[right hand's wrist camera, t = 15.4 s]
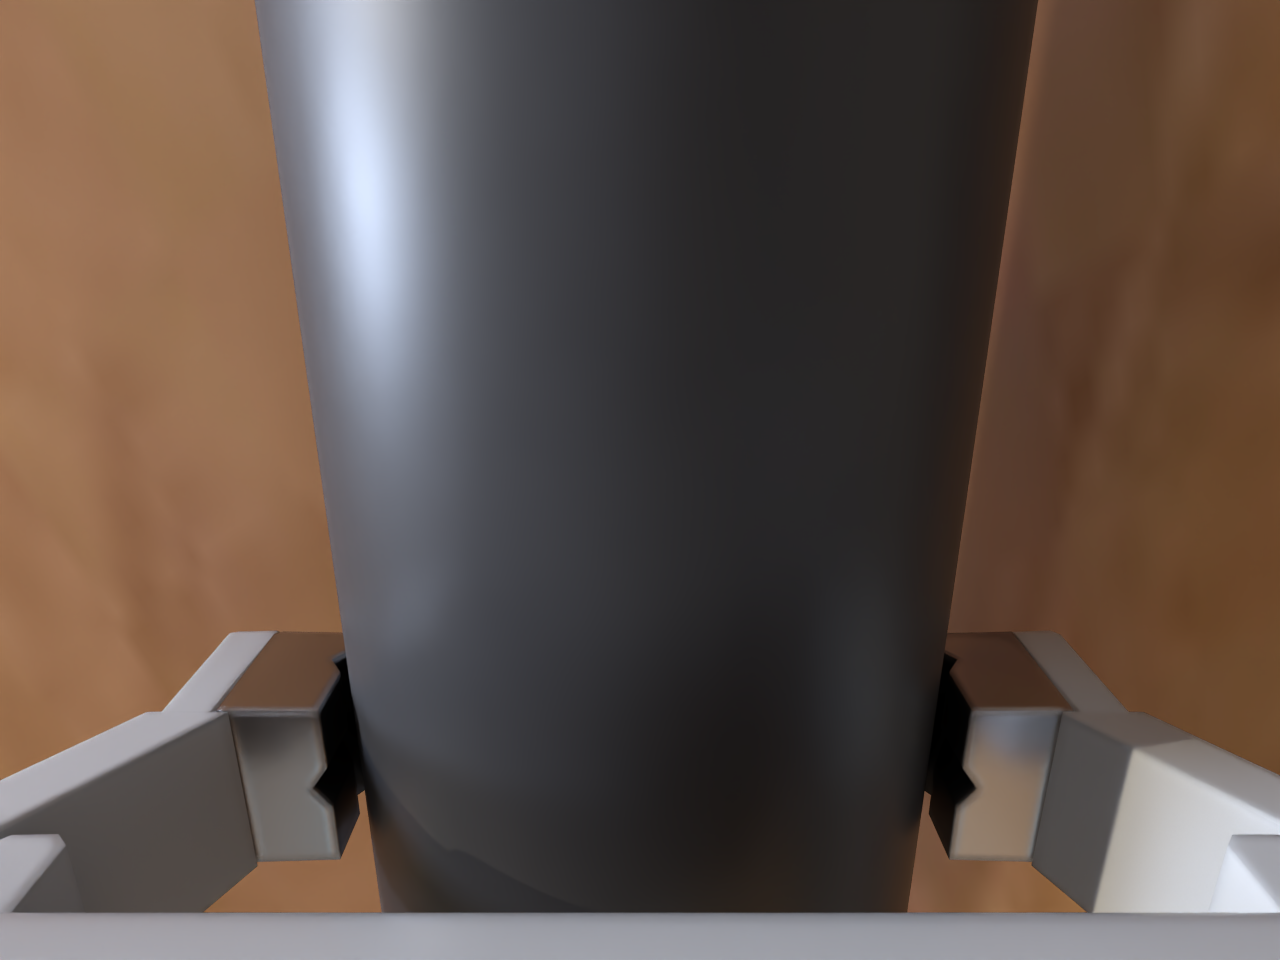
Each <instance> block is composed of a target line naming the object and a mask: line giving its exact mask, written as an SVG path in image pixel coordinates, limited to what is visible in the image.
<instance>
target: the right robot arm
mask: <svg viewBox="0 0 1280 960" xmlns="http://www.w3.org/2000/svg"><path fill="white" fill-rule="evenodd" d="M364 790H365V788H364V781H363V774H362V766H361V759H360V752H359V745H358V738H357V731H356V723H355V716H354V709H353V702H352V695H351V687H350V680H349V673H348V666H347V659H346V652H345V644H344V637H343V633H335V632H279V631H240V632H234V633H230V634H229V635H228V636H227V637H226V638H225V639H224V640H223V641H222V643H221V644H220V645H219V646H218V647H217V648H216V649H215V651H214V652H213V653H212V654H211V655H210V656H209V658H208V659H207V660H206V661H205V662H204V663H203V664H202V666H201V667H200V668H199V669H198V670H197V671H196V673H195V674H194V675H193V676H192V677H191V678H190V679H189V681H188V682H187V683H186V684H185V685H184V686H183V688H182V689H181V690H180V691H179V692H178V693H177V694H176V696H175V697H174V698H173V699H172V700H171V701H170V703H169V704H168V705H167V706H166V707H165V708H164V709H163V711H162V712H146V713H143V714H141V715H139V716H137V717H135V718H133V719H131V720H128V721H126V722H124V723H122V724H120V725H118V726H116V727H113V728H111V729H109V730H107V731H105V732H103V733H101V734H99V735H96V736H94V737H92V738H90V739H88V740H86V741H84V742H81V743H79V744H77V745H75V746H73V747H71V748H69V749H66V750H64V751H62V752H60V753H58V754H56V755H54V756H51V757H49V758H47V759H45V760H43V761H41V762H39V763H36V764H34V765H32V766H30V767H28V768H26V769H24V770H22V771H19V772H17V773H15V774H13V775H11V776H9V777H7V778H4V779H2V780H0V960H1280V775H1278V774H1276V773H1274V772H1272V771H1269V770H1267V769H1265V768H1263V767H1261V766H1259V765H1257V764H1254V763H1252V762H1250V761H1248V760H1246V759H1244V758H1241V757H1239V756H1237V755H1235V754H1233V753H1231V752H1229V751H1226V750H1224V749H1222V748H1220V747H1218V746H1216V745H1213V744H1211V743H1209V742H1207V741H1205V740H1203V739H1201V738H1198V737H1196V736H1194V735H1192V734H1190V733H1188V732H1185V731H1183V730H1181V729H1179V728H1177V727H1175V726H1173V725H1170V724H1168V723H1166V722H1164V721H1162V720H1160V719H1157V718H1155V717H1153V716H1151V715H1149V714H1147V713H1145V712H1128V711H1127V710H1126V708H1125V707H1124V706H1123V705H1122V704H1121V703H1120V702H1119V700H1118V699H1117V698H1116V697H1115V696H1114V695H1113V694H1112V693H1111V691H1110V690H1109V689H1108V688H1107V687H1106V686H1105V685H1104V684H1103V682H1102V681H1101V680H1100V679H1099V678H1098V677H1097V676H1096V674H1095V673H1094V672H1093V671H1092V670H1091V669H1090V668H1089V667H1088V665H1087V664H1086V663H1085V662H1084V661H1083V660H1082V659H1081V658H1080V656H1079V655H1078V654H1077V653H1076V652H1075V651H1074V650H1073V648H1072V647H1071V646H1070V645H1069V644H1068V643H1067V642H1066V641H1065V639H1064V638H1063V637H1062V636H1061V635H1060V634H1058V633H1055V632H1053V631H1050V630H1048V631H1024V632H979V633H947V637H946V644H945V651H944V658H943V665H942V672H941V679H940V686H939V693H938V700H937V707H936V714H935V721H934V728H933V735H932V742H931V749H930V756H929V763H928V770H927V777H926V784H925V791H926V792H927V793H929V794H930V795H931V801H930V808H929V815H930V817H931V820H932V822H933V824H934V826H935V829H936V831H937V833H938V835H939V837H940V840H941V842H942V844H943V846H944V849H945V851H946V853H947V855H948V857H949V859H950V860H986V861H1023V862H1032V866H1033V867H1034V868H1035V869H1037V870H1038V871H1039V872H1040V873H1041V874H1042V875H1044V876H1045V877H1046V878H1047V879H1048V880H1050V881H1051V882H1052V883H1053V884H1054V885H1056V886H1057V887H1058V888H1059V889H1060V890H1062V891H1063V892H1064V893H1065V894H1066V895H1067V896H1069V897H1070V898H1071V899H1072V900H1073V901H1075V902H1076V903H1077V904H1078V905H1079V906H1081V907H1082V908H1083V909H1084V910H1085V911H1087V912H1088V913H202V912H204V911H205V910H206V909H207V908H208V907H210V906H211V905H212V904H213V903H214V902H215V901H217V900H218V899H219V898H220V897H221V896H223V895H224V894H225V893H226V892H227V891H228V890H230V889H231V888H232V887H233V886H234V885H236V884H237V883H238V882H239V881H240V880H242V879H243V878H244V877H245V876H246V875H247V874H249V873H250V872H251V871H252V870H253V869H255V868H256V867H257V862H266V861H301V860H336V859H340V858H341V856H342V854H343V851H344V849H345V847H346V844H347V842H348V840H349V838H350V835H351V833H352V831H353V828H354V826H355V824H356V821H357V819H358V817H359V814H360V811H359V803H358V794H360V793H361V792H362V791H364Z"/></svg>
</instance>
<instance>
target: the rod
mask: <svg viewBox="0 0 1280 960" xmlns="http://www.w3.org/2000/svg"><path fill="white" fill-rule="evenodd" d="M1037 4H1038V0H255V5H256V13H257V20H258V27H259V34H260V41H261V48H262V56H263V63H264V70H265V77H266V84H267V92H268V99H269V106H270V113H271V120H272V127H273V135H274V142H275V149H276V156H277V163H278V171H279V178H280V185H281V192H282V199H283V206H284V214H285V221H286V228H287V235H288V242H289V250H290V257H291V264H292V271H293V278H294V285H295V293H296V300H297V307H298V314H299V321H300V328H301V336H302V343H303V350H304V357H305V364H306V372H307V379H308V386H309V393H310V400H311V407H312V415H313V422H314V429H315V436H316V443H317V451H318V458H319V465H320V472H321V479H322V486H323V494H324V501H325V508H326V515H327V522H328V530H329V537H330V544H331V551H332V558H333V565H334V573H335V580H336V587H337V594H338V601H339V608H340V616H341V623H342V630H343V637H344V644H345V652H346V659H347V666H348V673H349V680H350V687H351V695H352V702H353V709H354V716H355V723H356V731H357V738H358V745H359V752H360V759H361V766H362V774H363V781H364V788H365V795H366V802H367V810H368V817H369V824H370V831H371V838H372V845H373V853H374V860H375V867H376V874H377V881H378V888H379V896H380V903H381V910H382V913H907V909H908V902H909V895H910V888H911V881H912V874H913V867H914V860H915V853H916V846H917V839H918V832H919V825H920V818H921V812H922V805H923V798H924V791H925V784H926V777H927V770H928V763H929V756H930V749H931V742H932V735H933V728H934V721H935V714H936V707H937V700H938V693H939V686H940V679H941V672H942V665H943V658H944V651H945V644H946V637H947V630H948V623H949V617H950V610H951V603H952V596H953V589H954V582H955V575H956V568H957V561H958V554H959V547H960V540H961V533H962V526H963V519H964V512H965V505H966V498H967V491H968V484H969V477H970V470H971V463H972V456H973V449H974V442H975V435H976V428H977V421H978V415H979V408H980V401H981V394H982V387H983V380H984V373H985V366H986V359H987V352H988V345H989V338H990V331H991V324H992V317H993V310H994V303H995V296H996V289H997V282H998V275H999V268H1000V261H1001V254H1002V247H1003V240H1004V233H1005V226H1006V220H1007V213H1008V206H1009V199H1010V192H1011V185H1012V178H1013V171H1014V164H1015V157H1016V150H1017V143H1018V136H1019V129H1020V122H1021V115H1022V108H1023V101H1024V94H1025V87H1026V80H1027V73H1028V66H1029V59H1030V52H1031V45H1032V38H1033V31H1034V25H1035V18H1036V11H1037Z"/></svg>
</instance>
